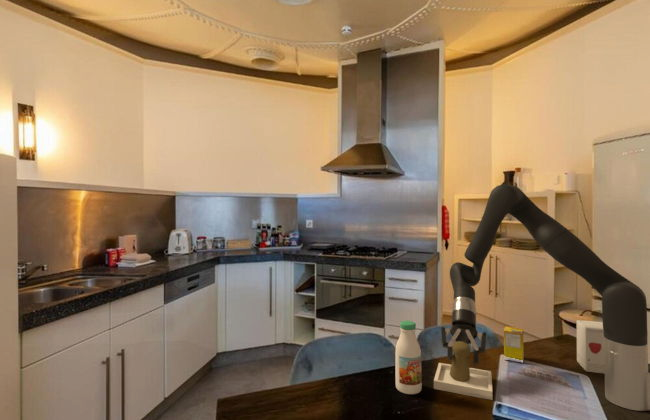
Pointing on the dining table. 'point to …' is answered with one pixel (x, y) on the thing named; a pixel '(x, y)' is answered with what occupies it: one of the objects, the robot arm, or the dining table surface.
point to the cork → (460, 362)
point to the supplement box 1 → (513, 343)
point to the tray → (474, 386)
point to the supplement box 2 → (590, 346)
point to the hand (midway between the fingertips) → (462, 362)
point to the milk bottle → (408, 360)
